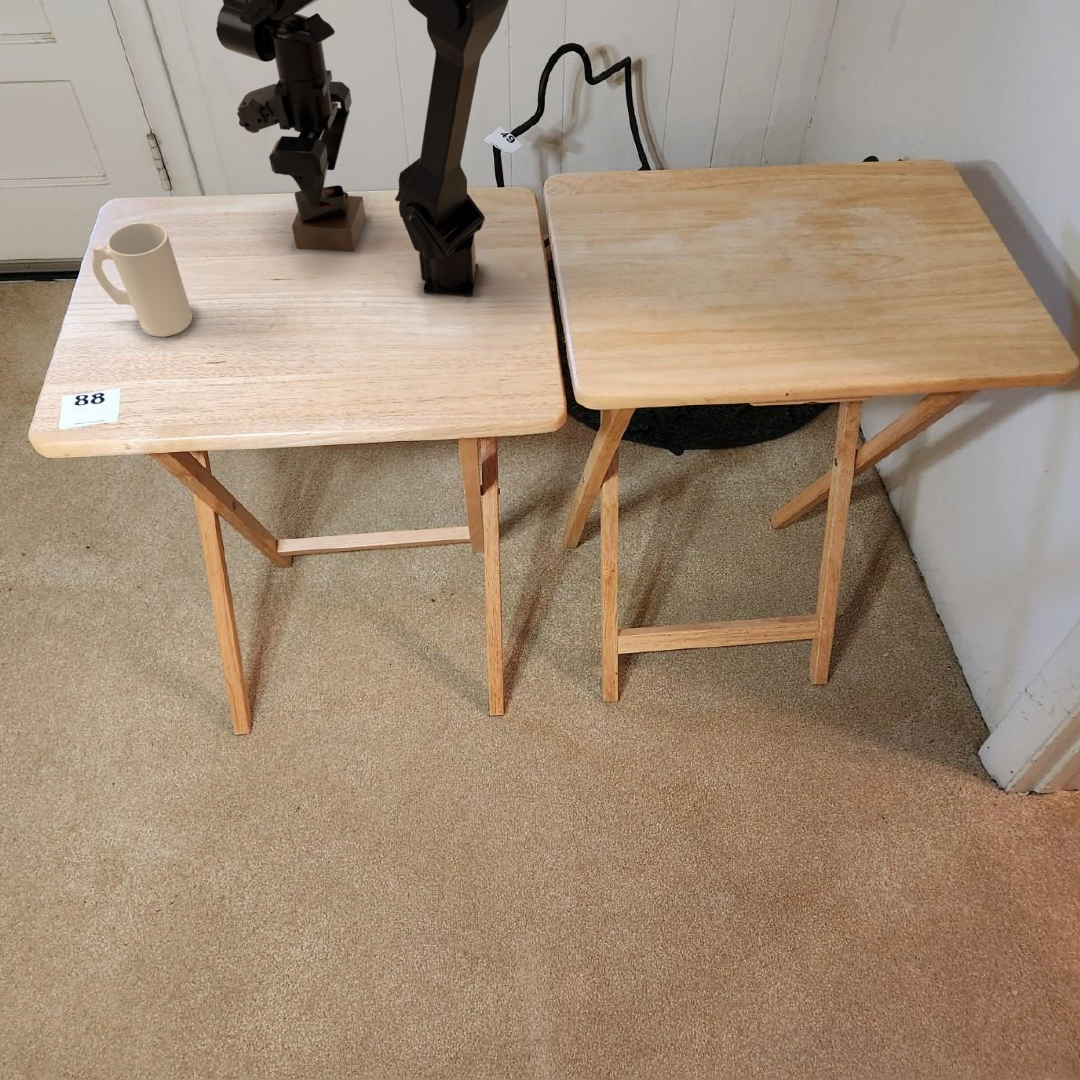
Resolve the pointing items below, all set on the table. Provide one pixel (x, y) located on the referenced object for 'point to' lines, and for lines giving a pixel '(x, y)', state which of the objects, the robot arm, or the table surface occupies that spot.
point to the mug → (146, 277)
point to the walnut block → (332, 229)
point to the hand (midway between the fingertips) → (322, 187)
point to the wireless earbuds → (323, 205)
